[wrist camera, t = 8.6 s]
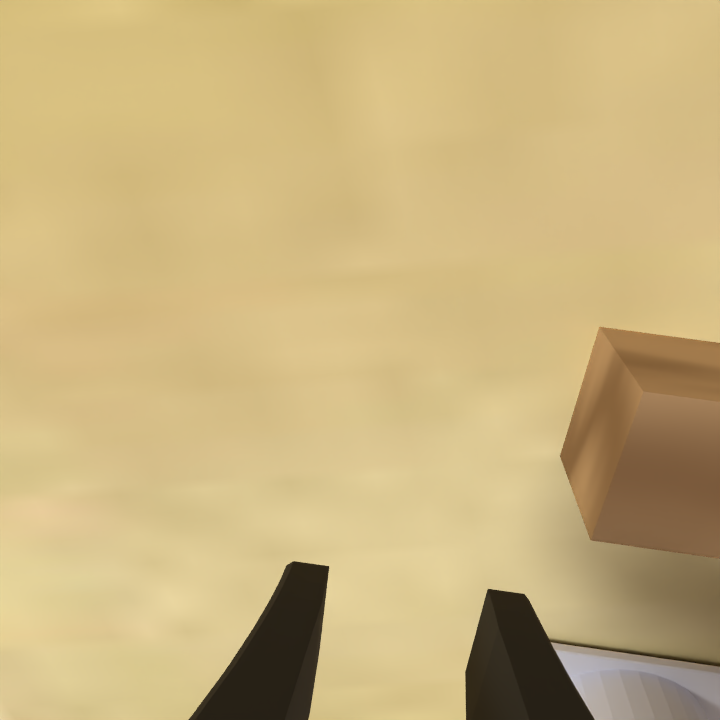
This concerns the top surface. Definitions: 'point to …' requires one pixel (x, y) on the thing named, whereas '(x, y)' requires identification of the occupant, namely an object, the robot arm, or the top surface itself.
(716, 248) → the top surface
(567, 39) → the top surface
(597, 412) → the block
